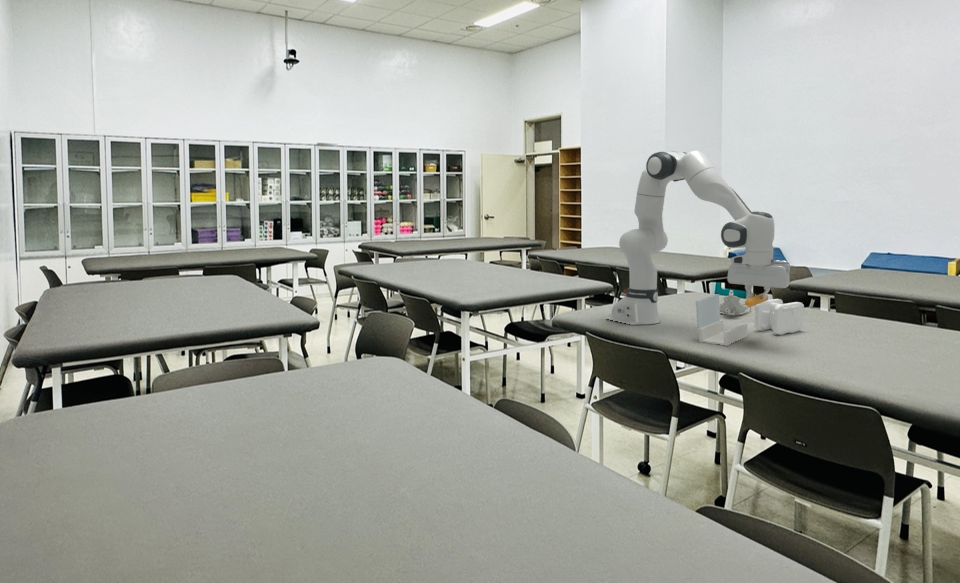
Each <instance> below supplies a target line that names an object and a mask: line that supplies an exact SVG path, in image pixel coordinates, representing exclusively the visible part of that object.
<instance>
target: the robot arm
mask: <svg viewBox="0 0 960 583" xmlns="http://www.w3.org/2000/svg"><path fill="white" fill-rule="evenodd" d="M671 181H673V182H675V183H676V182H679V181H686V183H687V185H688V187H689V189H690V190H691V191H692V194H694V195H695V196H696V197H697V198H698V199H700V200H702V201H705V202H708V203H713V204H716V205H718V206H721V207H722V208H724V209H725V210H726V211H727V212H728V213H729V214H730V216H731V218H733V219H734V220H732V221H730V222H727V223H725V224H724V225H723V226H722V229H721V231H720V238H721V242H722V244H724V246H726V247H728V248H731V249H741V248H742V249H743V248H744V249H745V253H742V254H739V255H736V256H732V257H730V262H731V264H730V265H729V266H728V272H727V277H726V278H727V279H726V280H727V282H728V283H729V284H731V285H732V284H734V285H742V286H743V285H744V289H745V291H746V292H747V299H748V298H751V297H754V296H755V292H752V290H751V288H752V286H753V287H754V286H755V287H763V290H764V292H763V294H762V293H759V294H760V296H761V297H760V299H766V294H767V295H768V293H769V292H770V290H771V288H776V289H777V288H778V289H786V288H788V287H789V286H790V283H791V282H790V273H791V272H790V271H791V264H790V263H789V262H788V261H786V260H778V259H774V247H773V242H774V239H775V220H774V217H773V215H772V214H770V213H767V212H764V211H751V210H750V208H749V207H748V206H747V204H746V203H745V202H744V201H743V199H742V198H741V197H740V195H738V193H737V192H736V191H735V189H733V188H732V187H731V186H730V185H729V184H728V183H727V182H726V180H724V178H723V177H722V176H721V174H720V173H719V172H718V170H717V169H716V167H715V166H714V164H713V163H712V162H711V160H710V159H709V158H708V157H707V156H706V155H705V154H704V153H703V152H702V151H700V150H697V149H696V150H691V151H688V152H684V151H683V152H682V151H675V150H673V151H658V152H654V153H652V154H651V155H649V157H648V159H647V161H646V164H645V169H644V170H643V171H642V172H641V175H640V179H639V182H638V186H637V191H636V196H635V197H636V198H635V205H634V214H635V216H636V218H637V222H638V228H635V229H630V230H629V231H626V232H624V233H623V234H622V235H621V237H620V238H619V242H618V243H619V244H618V246H619V249H620V251H621V252H622V253H623V254H624V255H625V258H626V260H627V265H628V270H629V287H627V288H626V289H624V290H623V293H625V296H623V298H621V299H619V300H618V301H617V302H616V303H614V304H613V306H612V309H611V313H610V315H606V318H605V320H606V319H609V320H608V321H610V320H613V321H612V322H615V321H618V322H617V323H620V322H622V323H621V324H624V323H626V324H625V325H629V324H630V326H636V325H655V324H658V323H660V322H661V319H660V315H659V309H658V299H659V298H658V297H659V293H658V292H659V289H658V270H657V268H656V266H654V264H653V261H652V254H657V253H658V252H662V251H663V250H664V249H665V248H666V247H667V245H668V242H669V241H668V238H669V237H668V236H667V233H666V232H665V230H664V224H663V212H664V204H665V196H666V190H667V185H668V184H669V183H670V182H671Z"/></svg>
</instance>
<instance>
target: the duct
mask: <svg viewBox="0 0 960 583" xmlns="http://www.w3.org/2000/svg"><path fill="white" fill-rule="evenodd" d="M723 329H724V320H721V319H720V321H717V322H715V323H712V324H710V325H707V326H705V327H702V328H699V338H698V340H699V343H703V342H706V343H705V344H709V343H713V344H712V345H716V344H720V345H719V346H723V345H726V346H725V347H727V345H728V346H730V345H732V344H734V343H736V342H735V341H737V342H739V341H741V340H743V339H745V338H747V332H748V331H747V330H748V323H746V322H745V323H741V324H740V325H737V326H735V327H732V328H730V329H727V330H726V331H724V330H723ZM744 337H745V338H744ZM742 338H743V339H742ZM740 339H741V340H740ZM738 340H739V341H738ZM733 342H734V343H733ZM731 343H732V344H731ZM729 344H730V345H729Z"/></svg>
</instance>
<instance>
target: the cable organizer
mask: <svg viewBox="0 0 960 583" xmlns="http://www.w3.org/2000/svg"><path fill="white" fill-rule="evenodd" d="M804 309H805V305H804V304H803V302H799V301H794V302H788V303H784V302H783V300H782V299H781V298H774V299H773V298H772V299H768V300H767V301H765V302H762V303H760V304H757V305H755V307H754V325H753V326H754V329H755V330H757V331H759V332H764V330H765V331H766V330H769V329H770V330H772V332H773V333H774V334H777V335H778V336H782V335H786V334H790V333H791V334H794V333H796V332H800V331H801V330H802V328H803V325H804Z"/></svg>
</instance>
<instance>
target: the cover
mask: <svg viewBox="0 0 960 583" xmlns="http://www.w3.org/2000/svg"><path fill="white" fill-rule="evenodd" d="M720 304H721V303H720V294H719V293H718V294H717V293H716V294H714V295H711V296H708V297H705V298H700V299H698V300H696V301H695V308H696V309H695V311H696V326H697V327H696V329H700V328H702V327H705V326H707V325H710V324H712V323H715V322H718V321H720V320H721V312H720Z"/></svg>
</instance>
